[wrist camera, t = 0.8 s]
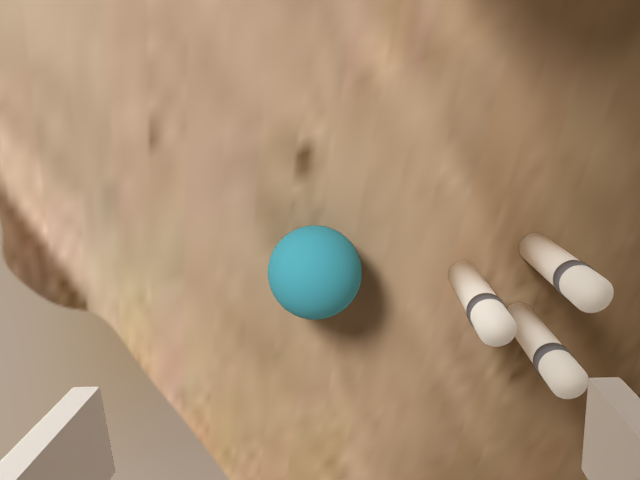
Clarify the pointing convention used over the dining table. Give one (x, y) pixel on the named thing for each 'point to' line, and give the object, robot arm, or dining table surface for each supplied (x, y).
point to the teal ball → (314, 272)
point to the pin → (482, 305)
